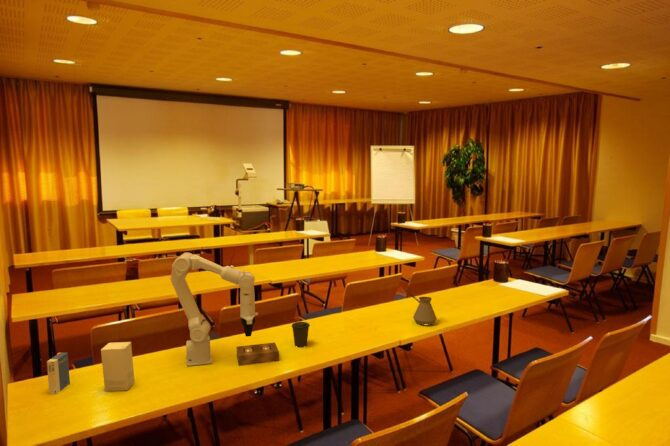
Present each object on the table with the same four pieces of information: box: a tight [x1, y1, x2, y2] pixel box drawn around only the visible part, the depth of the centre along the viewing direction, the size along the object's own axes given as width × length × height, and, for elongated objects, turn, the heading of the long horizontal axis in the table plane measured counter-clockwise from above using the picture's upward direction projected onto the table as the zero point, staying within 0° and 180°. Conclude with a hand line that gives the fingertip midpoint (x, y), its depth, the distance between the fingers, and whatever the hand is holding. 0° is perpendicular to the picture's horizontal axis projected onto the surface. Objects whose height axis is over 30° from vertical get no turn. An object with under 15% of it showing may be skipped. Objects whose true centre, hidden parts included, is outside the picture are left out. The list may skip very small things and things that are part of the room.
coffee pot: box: [401, 287, 437, 325], centre depth 231 cm, size 21×12×15 cm, turn 37°
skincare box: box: [100, 341, 135, 392], centre depth 160 cm, size 8×7×16 cm
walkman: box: [46, 352, 71, 395], centre depth 159 cm, size 8×3×12 cm, turn 0°
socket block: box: [236, 342, 280, 367], centre depth 185 cm, size 16×10×4 cm, turn 106°
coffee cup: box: [291, 321, 311, 348], centre depth 199 cm, size 8×8×10 cm
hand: (248, 335), depth 183 cm, fingers closed
